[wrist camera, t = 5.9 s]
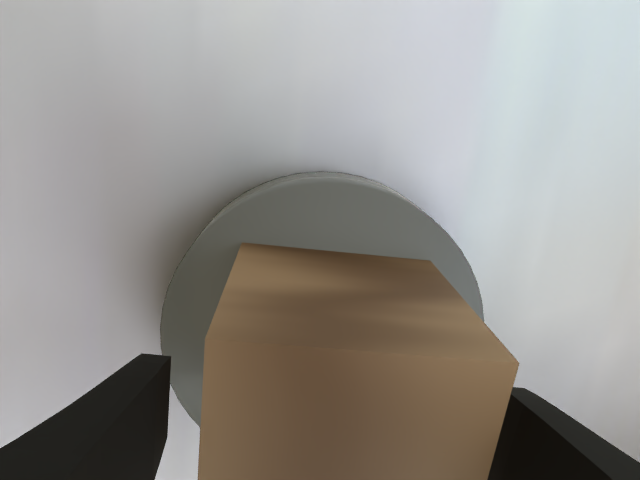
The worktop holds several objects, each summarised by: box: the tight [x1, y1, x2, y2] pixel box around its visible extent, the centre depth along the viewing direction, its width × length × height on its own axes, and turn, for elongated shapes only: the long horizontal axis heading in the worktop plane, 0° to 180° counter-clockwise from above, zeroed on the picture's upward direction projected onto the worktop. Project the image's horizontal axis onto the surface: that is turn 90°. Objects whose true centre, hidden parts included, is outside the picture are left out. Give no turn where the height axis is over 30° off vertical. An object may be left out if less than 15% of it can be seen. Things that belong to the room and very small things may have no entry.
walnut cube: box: [198, 242, 519, 480], centre depth 10 cm, size 5×5×5 cm
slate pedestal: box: [160, 172, 484, 427], centre depth 14 cm, size 9×9×2 cm
